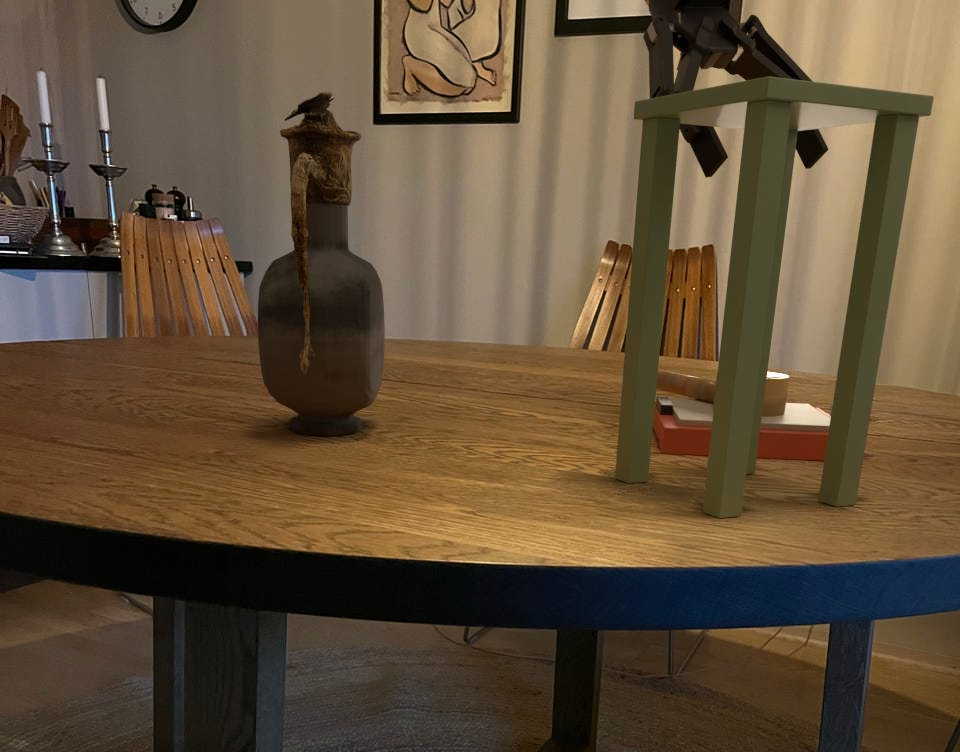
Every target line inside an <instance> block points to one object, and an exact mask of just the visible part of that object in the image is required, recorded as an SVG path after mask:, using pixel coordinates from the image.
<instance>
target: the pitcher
mask: <svg viewBox="0 0 960 752" xmlns="http://www.w3.org/2000/svg"><path fill="white" fill-rule="evenodd" d="M333 95H334V94H333V93H332V92H331V91H329V92H326V91H325V92H324V91H323V92H319V93H318V94H317V95H315V96H313V97H311V98H307V99H305V100H304V101H301V102H300V103H299V104H298V105H297V108H294V109H293V110H292V112H291V113H290V114H289V115H287V116H286V117H285V118H284V121H285V122H286V121H289V120H290V119H293V118H295V117H296V116H299V115H303V116H304V117H303V118H302V119H301V121H300V122H299V124H295V125H294V126H290V127H286V128H282V129H280V130H279V135H280V137H282V138H285V139H286V140H287V146H288V155H289V156H288V157H289V182H290V183H289V184H290V185H289V187H290V214H291V231H290V232H291V233H290V234H291V235H290V236H291V239H292V241H293V247H294V248H293V250H291V251H290V252H288V253H286V254H284V255H282V256H280V257H278V258H275V259H274V260H273V261H271V262H270V264H269V266H268V268H267V269H266V270H265V272H264V274H263V277H262V280H261V281H260V284H259V287H258V299H257V300H258V301H257V339H258V340H257V343H258V356H259V363H260V370H261V371H260V372H261V377H262V382H263V384H264V386H265V388H266V390H267V391H268V393H269V395H270V396H271V397H272V398H273V399H274V401H276V402H277V403H278V404H280V405H282V406H283V407H286V408H288V409H289V410H292V412H294V413H296V414H297V415H296V416H293V417H292V418H291V419H290V421H289V428H290V430H291V431H293V432H295V433H296V434H301V435H306V436H319V437H332V436H333V437H335V436H346V435H351V434H356V433H358V432H359V431H361V430H362V429H363V420H362V418H360V417H359V416H356V413H357V412H359V411H361V410H363V409H365V408H368V407H370V406H372V404H373V403H374V402H375V400H376V398H377V396H378V394H379V392H380V390H381V386H382V382H383V375H384V363H385V361H384V360H385V337H386V335H385V332H386V331H385V330H386V329H385V305H384V304H385V302H384V291H383V285H382V280H381V278H380V276H379V274H378V271H377V270H376V268H375V267H374V266H373V264H372V263H371V262H369V261H368V260H366V259H364V258H363V257H360V256H359V255H356V254H355V253H354V252H352V251H351V250H350V248H349V206H351V202H352V194H353V179H352V178H353V177H352V155H353V149H354V146H355V144H356V143H357V142H359V141H361V140H362V139H363V137H362V134H361V133H359V132H357V131H355V130H354V131H353V130H343V129H342V128H341V127H340V126H339V124H338V122H337V121H336V119H335V116H334V113H333V112H332V111H331V110H329V109H328V108H329V107H330V106H331V104H330V103H331V102H332V101H334V100H335V99H336V97H333V98H332V96H333Z"/></svg>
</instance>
